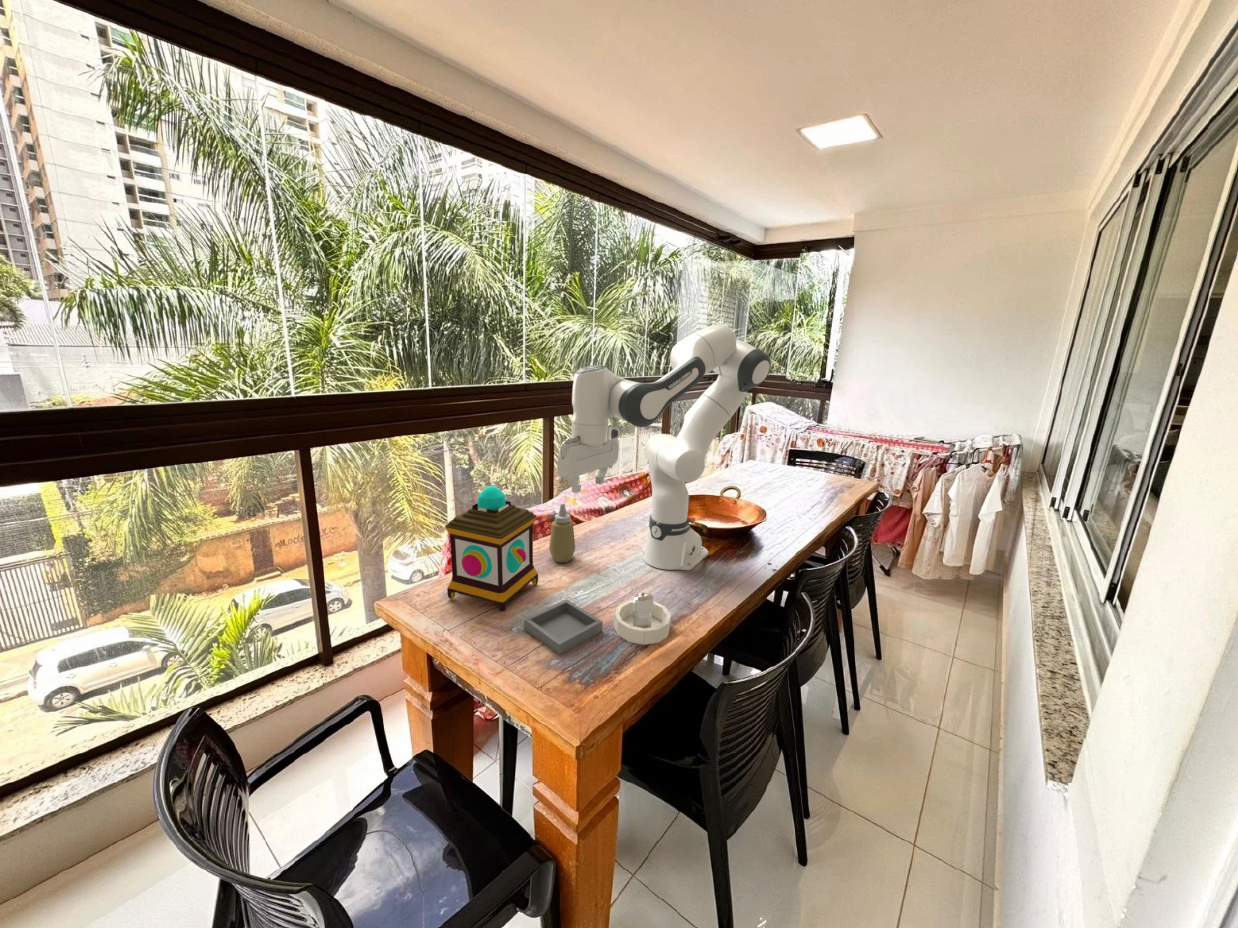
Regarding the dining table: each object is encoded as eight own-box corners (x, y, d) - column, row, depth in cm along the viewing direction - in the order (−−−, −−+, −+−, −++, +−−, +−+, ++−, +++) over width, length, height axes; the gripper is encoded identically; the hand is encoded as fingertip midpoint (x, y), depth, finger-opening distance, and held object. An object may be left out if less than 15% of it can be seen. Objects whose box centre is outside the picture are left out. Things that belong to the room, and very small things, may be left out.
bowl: (639, 609, 129) (640, 594, 127) (679, 631, 120) (681, 615, 119) (603, 629, 120) (604, 613, 118) (644, 655, 111) (645, 637, 110)
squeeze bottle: (557, 567, 149) (557, 510, 144) (544, 556, 156) (544, 502, 151) (580, 560, 154) (581, 506, 149) (566, 550, 160) (567, 498, 155)
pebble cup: (641, 619, 123) (643, 587, 120) (655, 627, 120) (657, 594, 117) (628, 626, 119) (630, 593, 117) (642, 635, 116) (644, 601, 114)
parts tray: (566, 611, 127) (566, 599, 126) (602, 634, 118) (602, 621, 117) (524, 632, 117) (523, 619, 117) (559, 658, 109) (559, 644, 108)
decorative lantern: (486, 568, 147) (482, 470, 139) (545, 582, 140) (545, 481, 132) (439, 601, 129) (432, 491, 121) (504, 619, 122) (501, 504, 114)
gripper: (571, 442, 111) (570, 501, 115) (623, 429, 127) (621, 481, 131) (550, 438, 114) (550, 495, 118) (604, 426, 131) (602, 476, 134)
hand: (588, 487), depth 125 cm, fingers open, 8 cm apart
